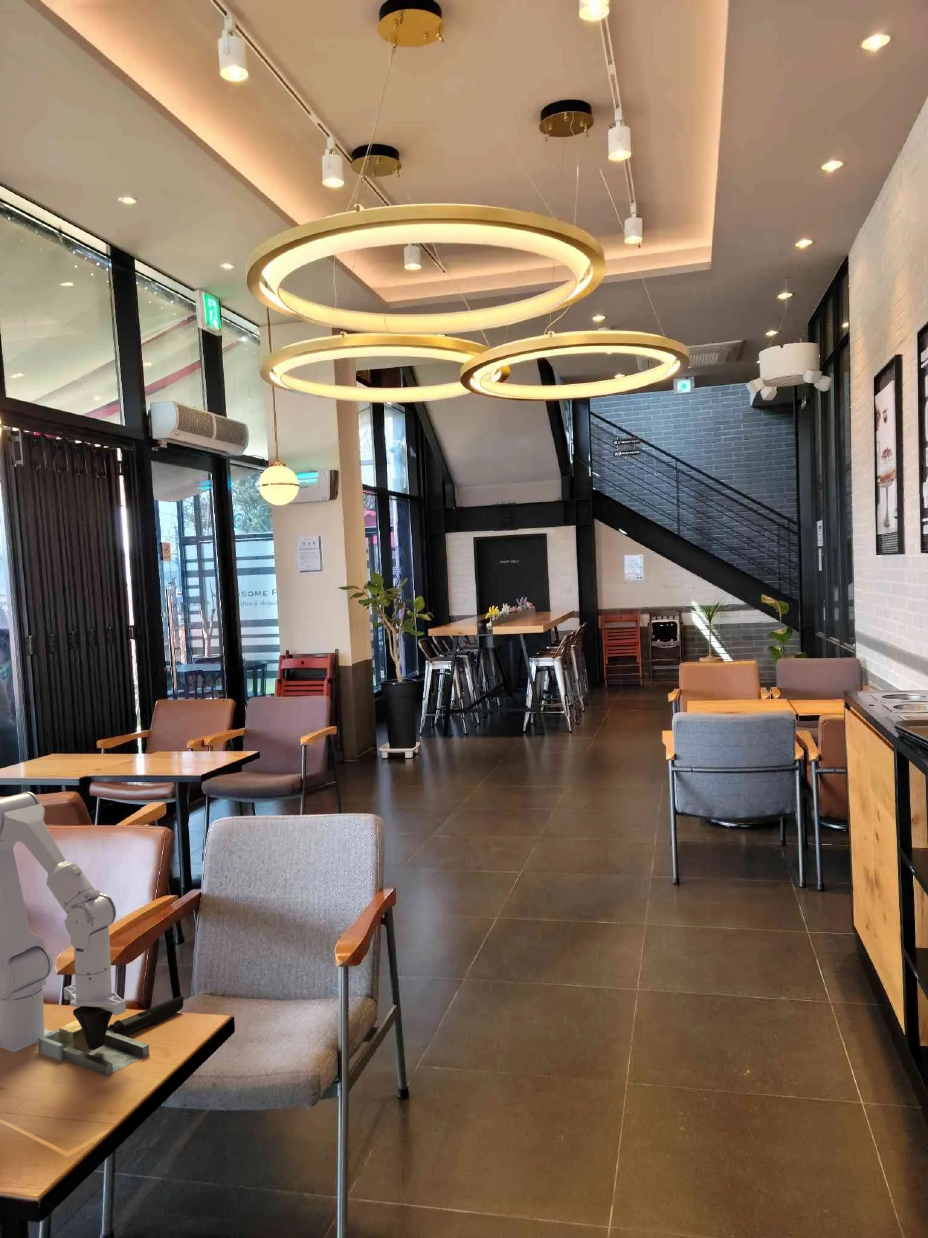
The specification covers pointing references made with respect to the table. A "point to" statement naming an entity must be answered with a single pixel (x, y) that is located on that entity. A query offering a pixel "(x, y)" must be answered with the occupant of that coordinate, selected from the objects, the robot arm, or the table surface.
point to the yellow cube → (72, 1036)
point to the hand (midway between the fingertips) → (96, 1047)
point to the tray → (51, 1045)
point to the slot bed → (108, 1054)
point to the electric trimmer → (147, 1017)
